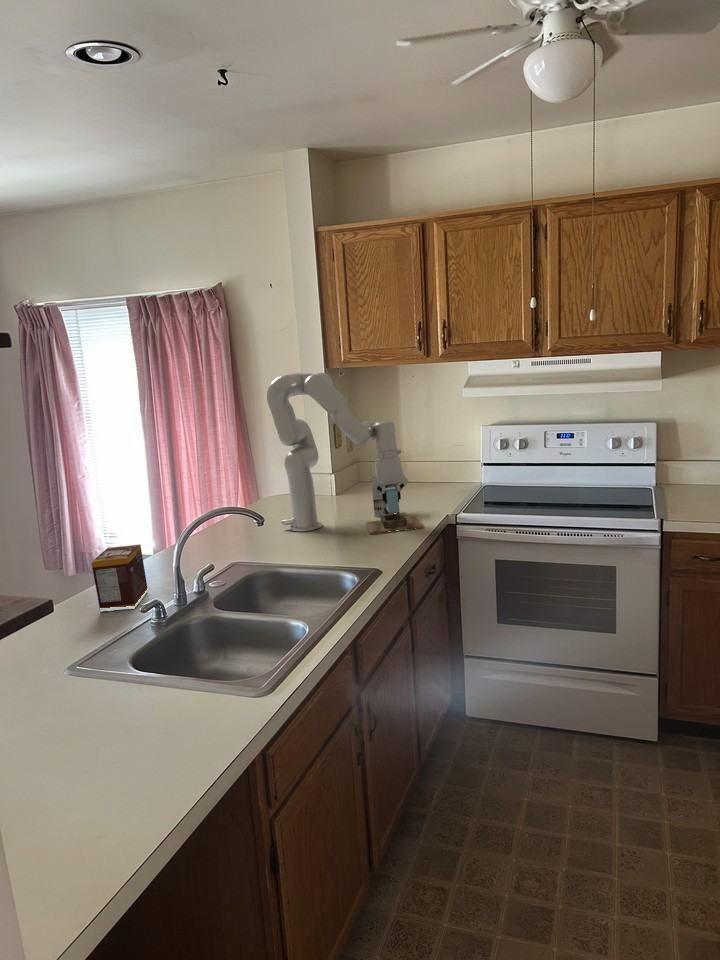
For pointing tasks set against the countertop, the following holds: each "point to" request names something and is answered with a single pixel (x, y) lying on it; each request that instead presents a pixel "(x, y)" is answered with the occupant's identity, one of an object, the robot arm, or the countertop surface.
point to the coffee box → (380, 500)
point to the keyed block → (392, 500)
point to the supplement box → (119, 576)
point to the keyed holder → (393, 523)
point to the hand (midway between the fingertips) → (391, 501)
